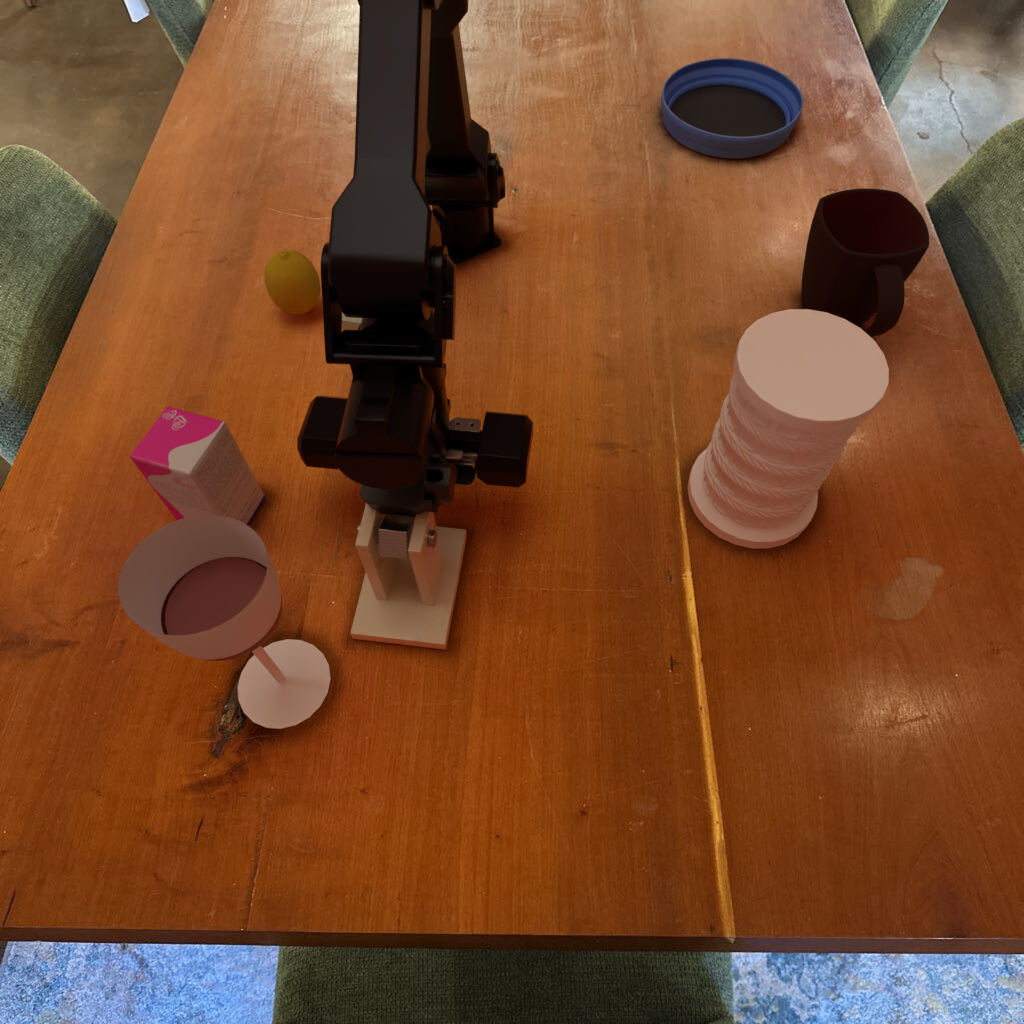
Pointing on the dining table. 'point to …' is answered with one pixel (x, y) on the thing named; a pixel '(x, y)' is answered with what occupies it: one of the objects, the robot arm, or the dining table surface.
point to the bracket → (408, 584)
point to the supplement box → (197, 467)
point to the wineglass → (224, 612)
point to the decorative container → (784, 424)
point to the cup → (862, 256)
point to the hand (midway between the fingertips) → (427, 497)
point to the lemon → (292, 282)
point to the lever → (395, 535)
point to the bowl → (730, 107)
